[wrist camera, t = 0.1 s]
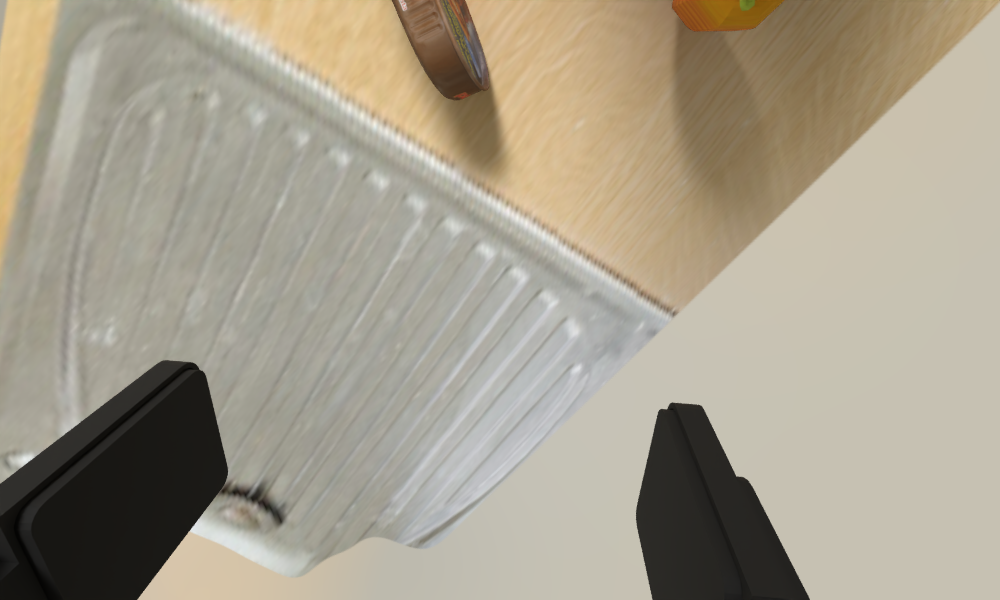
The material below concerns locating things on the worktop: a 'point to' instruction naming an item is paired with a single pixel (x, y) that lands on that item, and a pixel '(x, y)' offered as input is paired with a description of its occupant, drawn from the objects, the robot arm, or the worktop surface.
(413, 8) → the tin
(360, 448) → the worktop surface
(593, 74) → the worktop surface
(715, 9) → the carrot
